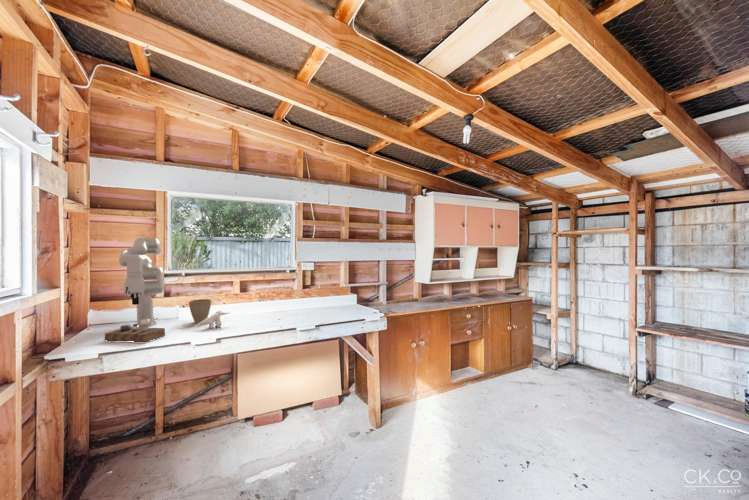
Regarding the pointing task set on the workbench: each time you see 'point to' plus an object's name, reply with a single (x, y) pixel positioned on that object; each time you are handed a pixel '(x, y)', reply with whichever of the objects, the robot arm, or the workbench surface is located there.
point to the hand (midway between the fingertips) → (135, 304)
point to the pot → (135, 327)
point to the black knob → (125, 328)
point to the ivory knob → (145, 324)
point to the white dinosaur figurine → (213, 319)
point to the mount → (135, 335)
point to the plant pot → (200, 309)
